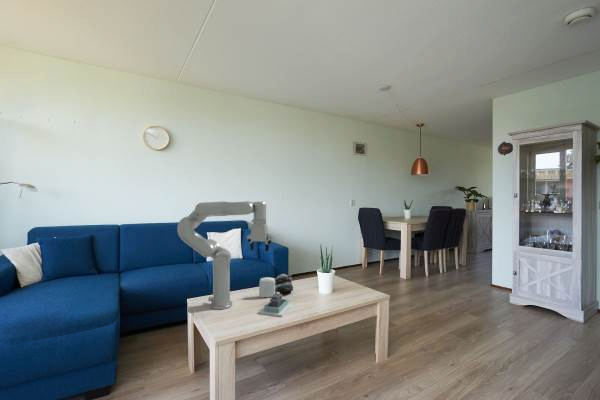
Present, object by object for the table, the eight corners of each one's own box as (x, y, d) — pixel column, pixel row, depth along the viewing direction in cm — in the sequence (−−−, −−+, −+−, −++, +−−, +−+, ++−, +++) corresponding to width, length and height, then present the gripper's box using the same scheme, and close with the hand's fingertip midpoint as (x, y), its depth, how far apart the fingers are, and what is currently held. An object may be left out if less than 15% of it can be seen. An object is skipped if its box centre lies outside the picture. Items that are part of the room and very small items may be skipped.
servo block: (270, 309, 162) (270, 295, 162) (276, 303, 171) (276, 290, 171) (276, 310, 161) (276, 296, 161) (282, 304, 170) (283, 291, 170)
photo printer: (274, 295, 189) (275, 276, 189) (275, 297, 185) (275, 278, 185) (259, 295, 188) (259, 276, 188) (259, 298, 184) (259, 278, 184)
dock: (258, 313, 160) (258, 307, 160) (272, 302, 177) (272, 296, 177) (282, 316, 155) (282, 310, 155) (293, 305, 172) (293, 299, 172)
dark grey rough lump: (269, 294, 190) (267, 273, 197) (277, 296, 200) (276, 276, 207) (289, 290, 185) (287, 269, 192) (297, 292, 195) (295, 272, 202)
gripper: (244, 222, 172) (243, 250, 173) (270, 223, 167) (270, 252, 167) (250, 221, 180) (249, 248, 180) (275, 222, 174) (275, 250, 174)
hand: (259, 250), depth 173 cm, fingers open, 9 cm apart
